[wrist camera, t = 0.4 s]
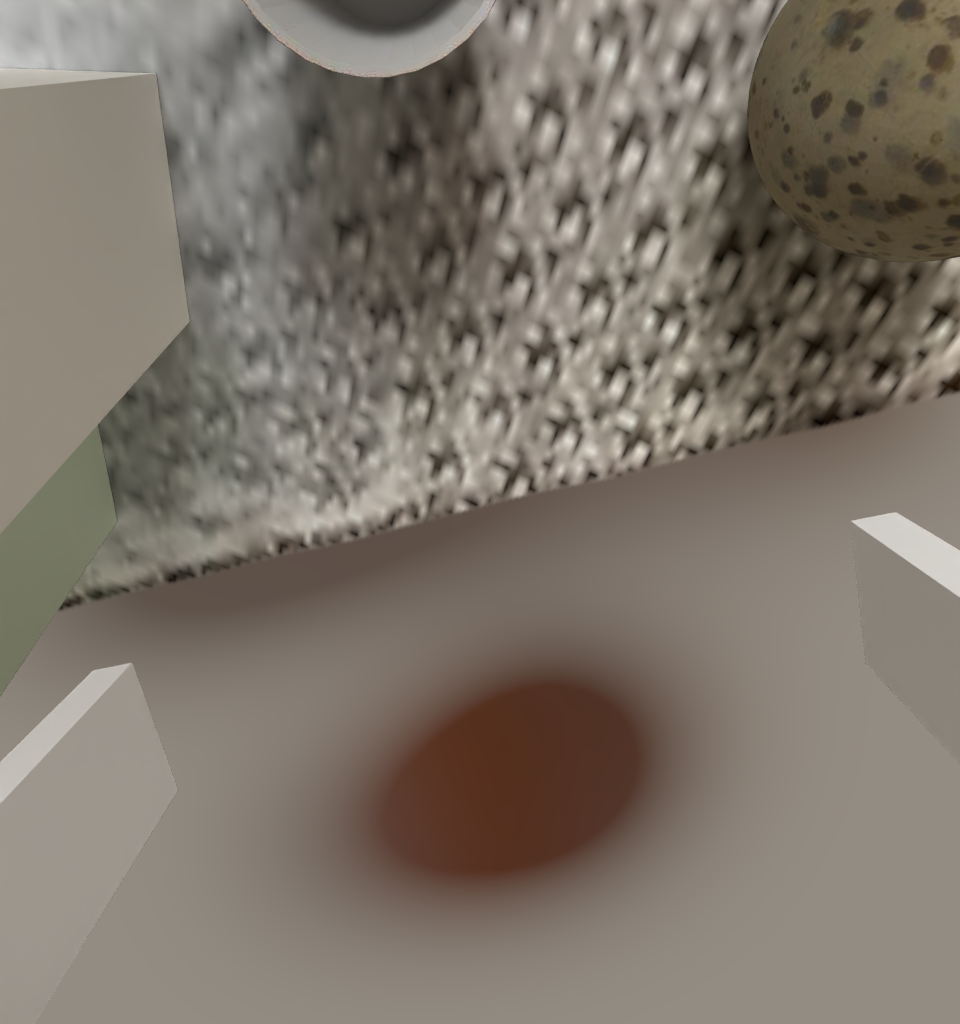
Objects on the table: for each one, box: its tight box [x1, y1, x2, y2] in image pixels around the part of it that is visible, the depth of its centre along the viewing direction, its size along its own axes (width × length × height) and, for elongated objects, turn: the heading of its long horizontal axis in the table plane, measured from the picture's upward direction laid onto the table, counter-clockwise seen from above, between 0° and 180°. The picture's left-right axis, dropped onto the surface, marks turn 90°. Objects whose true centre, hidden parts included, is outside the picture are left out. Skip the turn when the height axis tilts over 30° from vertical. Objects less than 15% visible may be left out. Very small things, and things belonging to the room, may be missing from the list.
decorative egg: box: [747, 0, 960, 262], centre depth 28 cm, size 11×11×15 cm
